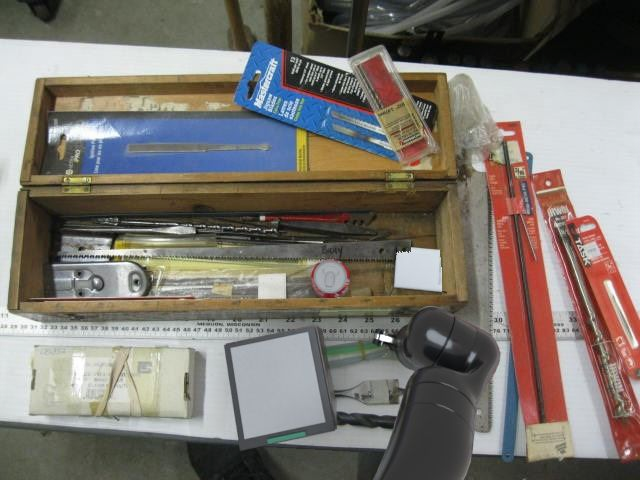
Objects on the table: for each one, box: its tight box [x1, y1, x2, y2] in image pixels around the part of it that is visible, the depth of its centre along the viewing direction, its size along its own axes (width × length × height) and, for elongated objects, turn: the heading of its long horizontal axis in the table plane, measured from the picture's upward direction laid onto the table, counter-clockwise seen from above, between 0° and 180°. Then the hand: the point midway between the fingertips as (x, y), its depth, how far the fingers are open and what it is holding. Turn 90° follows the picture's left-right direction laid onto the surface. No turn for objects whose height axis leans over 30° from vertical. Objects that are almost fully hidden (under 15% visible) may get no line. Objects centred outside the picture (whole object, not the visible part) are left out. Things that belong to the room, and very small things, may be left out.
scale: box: [223, 325, 336, 452], centre depth 61 cm, size 14×13×3 cm
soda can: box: [310, 258, 351, 299], centre depth 84 cm, size 7×7×12 cm
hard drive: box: [393, 246, 443, 293], centre depth 89 cm, size 2×8×12 cm
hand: (405, 346), depth 84 cm, fingers closed on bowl, 5 cm apart
